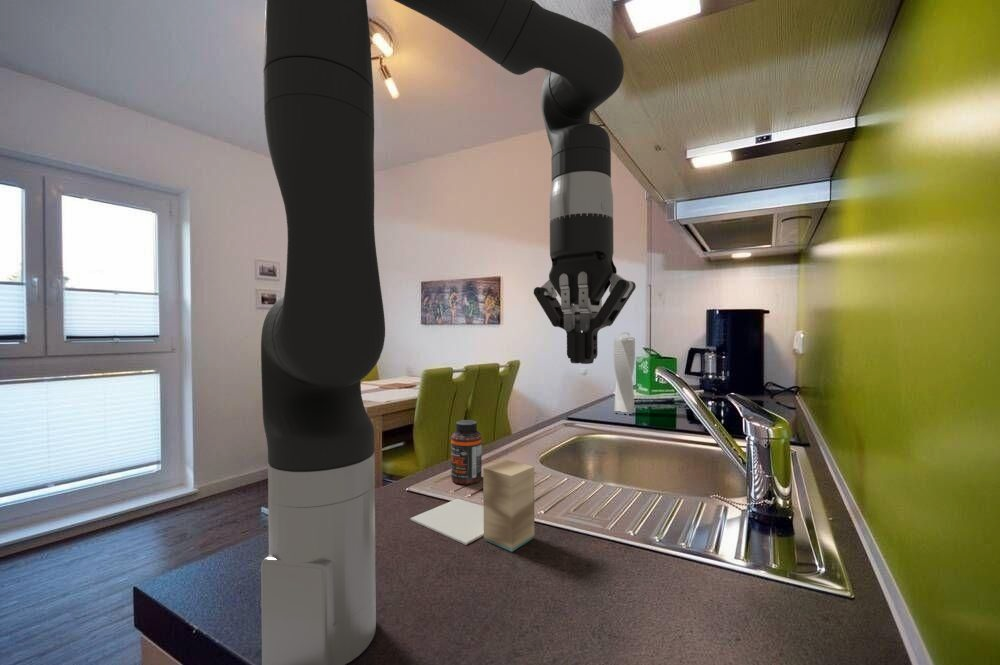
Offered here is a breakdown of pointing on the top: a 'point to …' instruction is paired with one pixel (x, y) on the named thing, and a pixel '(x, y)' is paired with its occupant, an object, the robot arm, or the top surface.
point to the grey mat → (455, 520)
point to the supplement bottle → (466, 453)
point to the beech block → (508, 504)
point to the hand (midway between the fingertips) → (581, 362)
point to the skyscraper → (624, 373)
